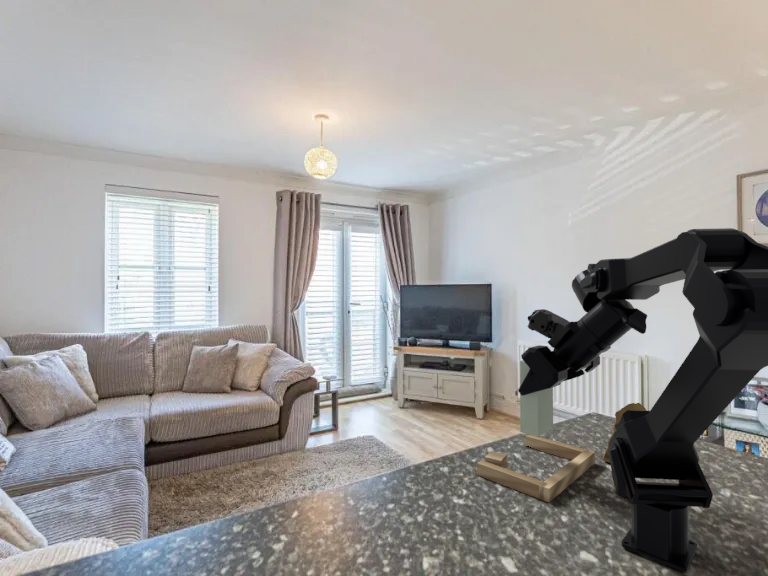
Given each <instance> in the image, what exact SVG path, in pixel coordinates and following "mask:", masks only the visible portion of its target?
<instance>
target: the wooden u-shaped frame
mask: <svg viewBox="0 0 768 576" xmlns="http://www.w3.org/2000/svg"><path fill="white" fill-rule="evenodd" d="M524 439H525V447H526V446H529V447H528V448H530V447H531V448H530V449H533V448H534V450H536V449H537V451H539V452H544V453H547V454H550V455H554V456H557V457H559V458H560V457H561V458H564V459H568V460H570V461H569V462H568V463H566V464H565V465H564V466H563V467H561V468H560V469H559V470H557V471H556V472H554V473H553V474H552V475H551V476H550V477H548V478H547V479H546V480H544V481H542V480H539V479H537V478H534V477H531V476H528V475H525V474H522V473H520V472H516V471H514V470H511V469H510V470H508V469H506V468H503V467H500V466H497V465H494V464H491V463H488V462H486V461H485V460H482V459H481V460H479V461H477V462H476V475H477V476H478V477H481V478H484V479H487V480H489V481H491V482H495V483H498V484H499V485H502V486H505V487H507V488H510V489H513V490H515V491H518V492H521V493H523V494H525V495H528V496H531V497H534V498H536V499H539V500H542V501H544V502H547V503H551V502H552V501H553V500H554V499H555V498H556V497H557V496H559V495H560V494H561V493H562V492H564V490H565V489H567V488H568V487H569V486H570V485H571V484H572V483H573V482H575V481H576V480H577V479H579V478H580V477H581V476H582V475H583V474H584V473H585V472H586V471H588V470H589V469H590V468H591V467H593V466H594V465H595V464H596V452H595V451H593V450H590V449H589V450H588V449H585V448H581V447H577V446H574V445H570V444H568V443H564V442H560V441H556V440H552V439H548V438H544V437H541V436H534V435H530V434H527V435H525V438H524Z"/></svg>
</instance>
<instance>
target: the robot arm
mask: <svg viewBox="0 0 768 576" xmlns="http://www.w3.org/2000/svg"><path fill="white" fill-rule="evenodd" d="M683 280H684V282H683V287H682V295H683V296H684V297H685V299H687V301H688V302H689V303H690V305H691V306H692V307H693V309H694V310H693V311H692V316H693V319H694V322H695V325H696V330H697V332H698V335H699V337H698V340H697V341H696V343H695V344H694V346H693V347H692V349H691V350H690V351H689V353H688V354H687V356H686V357H685V359H684V360H683V362H682V364H680V367H678V369H677V371H676V372H675V374H674V375H673V377H672V378H671V380H670V381H669V383H668V384H667V385H666V387H665V388H664V389H663V391H662V392H661V394H660V396H659V397H658V399H657V400H656V401H655V403H654V405H653V406H652V407H651V408H650V410H646V411H639V410H627V411H626V412H624V413H623V414H622V417H621V420H620V422H619V423H618V424H616V425H615V424H614V425H615V428H616V431H615V433H614V434H613V433H612V434H613V438H612V439H611V440H610V443H609V447H608V449H609V450H608V453H609V457H610V463H609V464H610V471H611V476H612V480H613V485H614V488H615V494H616V496H617V497H620V498H623V499H624V500H627V501H628V502H629V504H631V509H630V511H631V517H630V518H631V522H630V525H631V527H630V529H629V530H628V532H627V533H626V534H625V536H624V537H623V539H622V540H621V547H622V548H624V549H625V550H628V551H631V552H633V553H636V554H638V555H641V556H643V557H646V558H648V559H650V560H652V561H656V563H657V562H658V563H660V564H662V565H664V566H668V567H670V568H672V569H675V570H677V571H680V572H682V573H687V572H688V570H689V568H690V566H691V564H692V561H693V559H694V557H695V554H696V552H697V549H698V544H697V543H696V542H695V541H693V540H690V539H689V528H690V527H689V526H690V525H689V521H690V520H689V517H690V516H689V514H690V513H689V507H697V508H703V509H710V507H711V503H712V500H713V497H714V493H713V492H712V490H711V489H712V488H711V487H710V484H709V482H708V480H707V478H706V476H705V474H704V472H703V470H702V467H701V465H700V463H699V462H700V457H699V455H698V452H697V450H696V447H695V443H696V441H697V440H698V439H700V437H701V436H702V435H703V434H704V433H705V432H706V431H707V430H708V429H709V427H710V426H711V425H712V424H713V423H714V422H715V421H716V420H717V418H718V417H719V416H721V414H722V413H723V412H724V411H725V409H727V408H728V406H729V405H730V404H731V403H732V402H733V400H735V399H736V398H737V396H738V395H740V393H741V392H742V391H743V390H744V389H745V387H746V386H747V385H748V384H749V383H750V382H751V381H752V380H753V379H754V378H755V376H756V375H757V374H758V373H759V372H760V371H761V370H762V369H764V368H766V367H768V245H764V244H761V243H759V242H757V241H756V240H755V239H753V238H752V237H751V236H750V235H749V234H748V233H746V232H744V231H742V230H738V229H736V228H729V227H728V228H727V227H726V228H695V229H694V228H693V229H689V230H686V231H683V232H681V233H680V234H678V235H677V236H676V238H673V239H671V240H669V241H666V242H664V243H662V244H660V245H658V246H655V247H653V248H651V249H648V250H646V251H644V252H642V253H639V254H637V255H634V256H632V257H626V258H625V257H624V258H608V259H599V261H597V262H596V263H588V265H587V269H585V270H582V271H581V272H579V273H577V275H576V276H575V277H574V278H573V279H572V282H571V288H572V290H573V292H574V294H575V296H576V299H577V300H578V301H579V303H580V305H581V307H582V310H583V311H584V312H586V313H585V314H584V315H583V316H582V317H581V318H580V319H578V320H577V321H569V320H568V319H566V318H564V317H561V316H560V315H558V314H556V313H554V312H552V311H550V310H548V309H534V311H533V312H532V313H531V314H530V315H528V316H527V320H528V325H527V328H528V329H529V330H531V331H535V332H536V333H539V334H540V335H542V336H544V337H545V338H548V339H549V340H548V341H547V343H548V345H549V346H550V347H551V348H552V349H553V350H551V349H550V348H549V346H547V345H535V346H531V347H528V348H527V349H526V350H525V351H524V352H523V353H522V354H520V355H521V359H522V360H523V361H524V362H525V363H526V364H527V365H528V367H529V368H530V370H529V372H528V374H527V376H526V377H525V379H524V381H523V382H522V384H521V386H520V385H519V388H518V393H519V395H520V394H521V395H522V396H523V395H527V394H530V393H534V392H537V391H541V390H545V389H548V388H549V389H550V388H553V389H554V388H555V387H557V386H561V384H562V383H564V382H566V381H568V380H573V379H576V378H579V377H581V376H583V375H585V373H586V374H587V373H589V372H593V370H594V369H596V368H598V366H600V365H601V356H600V355H601V354H602V353H605V352H607V351H609V350H611V348H612V345H613V344H615V343H616V342H617V341H618V340H619V339H621V338H622V337H623V336H624V335H625V334H626V333H628V332H629V331H630V330H631V329H632V330H634V331H636V332H638V333H640V334H642V335H644V334H645V333H646V331H647V318H648V315H647V313H645V312H644V311H642V310H640V309H638V308H637V307H636V308H635V307H634V306H633V305H632V303H631V302H629V301H630V300H632V301H635V300H637V301H638V300H639V301H640V300H641V301H642V300H643V301H644V300H645V301H646V300H648V299H650V298H652V297H654V296H655V295H657V294H659V292H660V290H661V289H660V288H661V286H663V285H667V284H668V285H669V284H671V283H672V284H673V283H676V282H679V281H683ZM628 300H629V301H628ZM583 369H584V370H583ZM636 479H645V480H646V479H647V480H648V479H651V480H656V479H657V480H673V481H674V480H675V481H678V482H677V483H676V482H674V483H673V482H655V481H653V482H652V481H637V480H636Z"/></svg>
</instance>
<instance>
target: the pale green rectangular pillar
mask: <svg viewBox="0 0 768 576" xmlns="http://www.w3.org/2000/svg"><path fill="white" fill-rule="evenodd" d="M529 370H530V368H529V367H528V365H527V364H526V363H525V362H524V361H523V359H522V360H519V387H520V386H521V384H522V382H523V381H524V379H525V377H526V376H527V374H528V372H529ZM519 412H520V416H519V419H520V421H519V425H520V426H519V429H520V430H519V431H520V433H522V434H527V435H528V434H530V435H534V436H538V437H540V436H541V435H543V434H545V433H546V432H548V431H549V430H551V429H553V428H554V387H553V388H550V389H549V388H548V389H545V390H541V391H537V392H534V393H530V394H527V395H523V396H522V395H521V394H520V393H519Z"/></svg>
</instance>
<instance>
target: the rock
mask: <svg viewBox="0 0 768 576" xmlns="http://www.w3.org/2000/svg"><path fill="white" fill-rule="evenodd" d="M627 410H639V411H647V408H645V406H644V405H642V404H641V403H640V402H636V403H635V402H630V403H628V404H627V405H624V406H623V407H621V409H619V410H618V411H615V414H614V416H615V419H614V420H615V421H614V426H613V429H612V430H613V431H612V434H611V436H610V437H609V439H608V442H607V447H606V449H605V452H604V454H603V457H602V461H603V462H606V463H608V464H611V463H610V457H609V453H608V450H609V449H608V447H609V443H610V440H611V439H612V438H613V434H614V433H615V431H616V428H615V425H616V424H618V423H619V422H620V420H621V417H622V414H623V413H624V412H626V411H627Z"/></svg>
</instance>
